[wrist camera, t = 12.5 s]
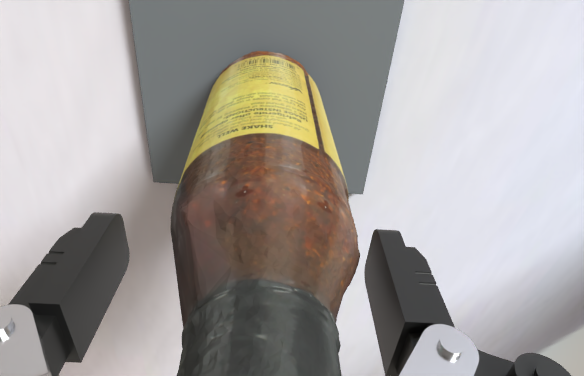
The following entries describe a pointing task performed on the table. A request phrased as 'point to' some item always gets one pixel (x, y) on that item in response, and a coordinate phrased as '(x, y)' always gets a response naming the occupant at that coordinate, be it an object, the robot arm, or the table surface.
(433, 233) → the table surface
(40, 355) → the robot arm
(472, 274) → the table surface
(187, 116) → the placemat
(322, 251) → the sauce bottle
